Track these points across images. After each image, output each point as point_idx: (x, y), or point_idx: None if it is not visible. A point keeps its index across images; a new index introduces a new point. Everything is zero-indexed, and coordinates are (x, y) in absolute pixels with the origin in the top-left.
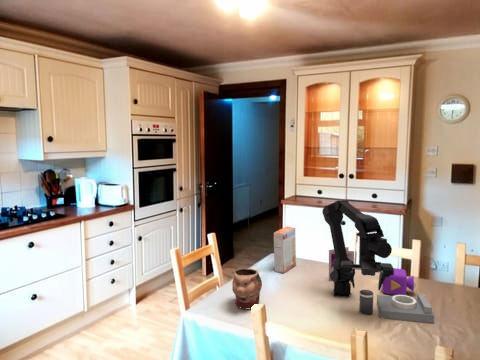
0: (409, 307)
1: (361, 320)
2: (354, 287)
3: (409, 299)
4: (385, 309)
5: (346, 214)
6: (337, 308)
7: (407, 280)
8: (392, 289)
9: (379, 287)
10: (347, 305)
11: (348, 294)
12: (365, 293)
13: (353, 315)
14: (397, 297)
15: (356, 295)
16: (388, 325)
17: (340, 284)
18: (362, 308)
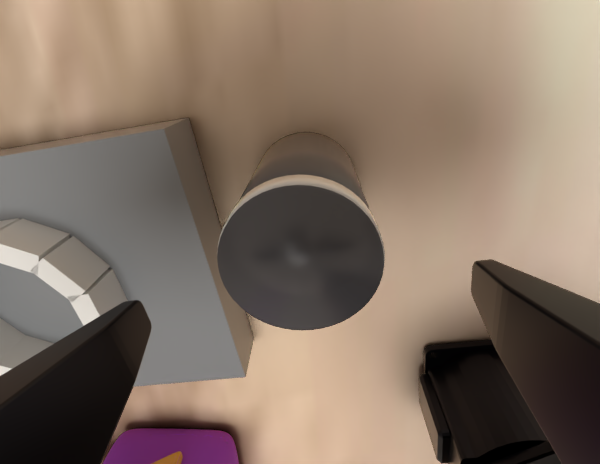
0: None
1: (331, 8)
2: (483, 265)
3: (6, 351)
4: (136, 164)
5: None
6: (526, 165)
7: None
8: (171, 456)
9: (100, 324)
10: (442, 238)
11: (431, 369)
12: (309, 230)
13: (400, 84)
14: None
15: (378, 378)
16: (108, 2)
17: (530, 422)
18: (333, 148)
